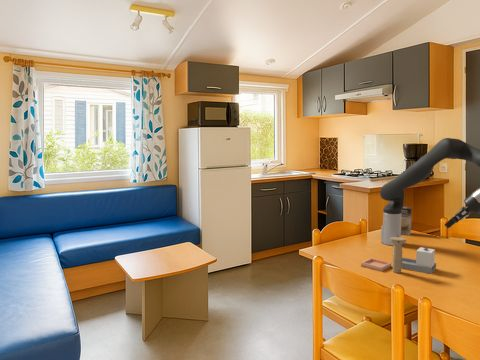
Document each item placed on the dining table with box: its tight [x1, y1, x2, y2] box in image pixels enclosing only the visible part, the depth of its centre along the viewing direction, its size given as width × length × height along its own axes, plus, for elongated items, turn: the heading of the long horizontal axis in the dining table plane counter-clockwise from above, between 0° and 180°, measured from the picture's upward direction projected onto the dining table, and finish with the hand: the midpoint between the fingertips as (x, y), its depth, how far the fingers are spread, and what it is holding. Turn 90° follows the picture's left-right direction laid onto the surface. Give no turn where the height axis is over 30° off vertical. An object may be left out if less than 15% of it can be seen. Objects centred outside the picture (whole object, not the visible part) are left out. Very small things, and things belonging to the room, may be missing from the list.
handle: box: [390, 236, 407, 274], centre depth 169 cm, size 5×6×15 cm
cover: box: [415, 246, 436, 268], centre depth 171 cm, size 6×7×8 cm
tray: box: [360, 257, 392, 272], centre depth 177 cm, size 10×9×2 cm
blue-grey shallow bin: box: [401, 256, 437, 275], centre depth 174 cm, size 14×8×2 cm, turn 51°
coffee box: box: [401, 206, 413, 236], centre depth 233 cm, size 9×6×16 cm
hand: (448, 224), depth 164 cm, fingers open, 8 cm apart
